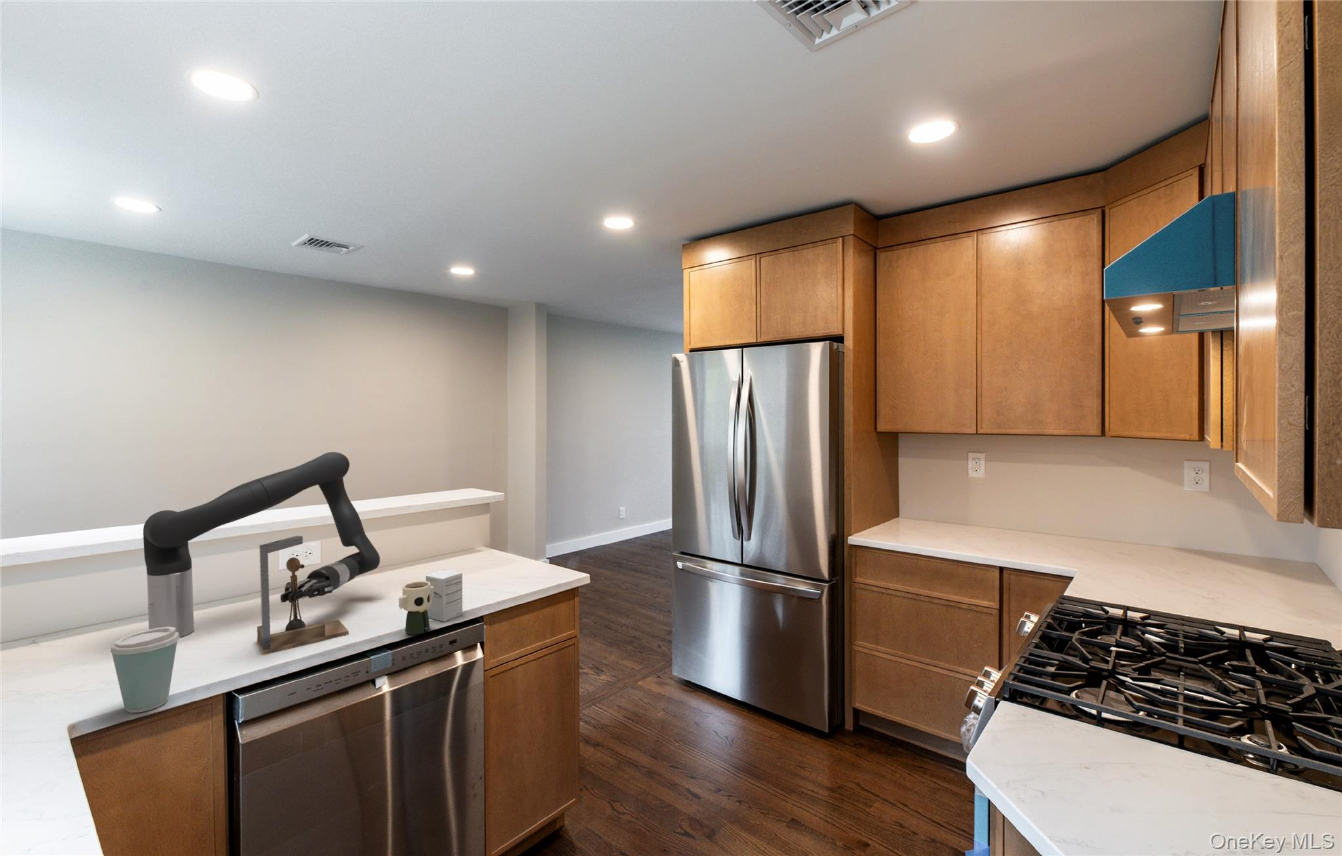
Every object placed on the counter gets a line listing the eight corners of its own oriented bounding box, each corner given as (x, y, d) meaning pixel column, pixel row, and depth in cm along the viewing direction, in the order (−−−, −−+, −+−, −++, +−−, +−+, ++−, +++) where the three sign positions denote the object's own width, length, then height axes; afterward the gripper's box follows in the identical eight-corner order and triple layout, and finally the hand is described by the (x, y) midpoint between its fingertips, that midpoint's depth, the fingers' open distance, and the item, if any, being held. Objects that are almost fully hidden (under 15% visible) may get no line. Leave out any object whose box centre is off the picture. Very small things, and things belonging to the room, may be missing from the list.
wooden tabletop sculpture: (312, 630, 157) (310, 556, 156) (296, 637, 153) (293, 561, 152) (297, 627, 160) (295, 554, 159) (280, 633, 155) (278, 558, 154)
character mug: (409, 641, 155) (408, 592, 154) (391, 636, 158) (390, 588, 157) (443, 627, 164) (442, 581, 164) (425, 623, 167) (424, 577, 167)
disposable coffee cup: (99, 722, 116) (96, 646, 115) (132, 695, 126) (129, 626, 125) (164, 714, 119) (162, 640, 118) (191, 689, 129) (189, 621, 128)
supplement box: (425, 618, 171) (424, 575, 171) (445, 610, 178) (445, 568, 177) (443, 622, 168) (442, 578, 167) (463, 614, 174) (463, 572, 174)
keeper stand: (263, 654, 147) (260, 546, 145) (257, 640, 155) (254, 538, 154) (348, 634, 159) (346, 535, 158) (338, 622, 167) (336, 528, 166)
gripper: (305, 565, 170) (260, 584, 153) (351, 565, 170) (310, 585, 152) (305, 590, 171) (261, 612, 153) (351, 591, 170) (311, 613, 153)
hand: (286, 598), depth 153 cm, fingers closed on wooden tabletop sculpture, 1 cm apart
